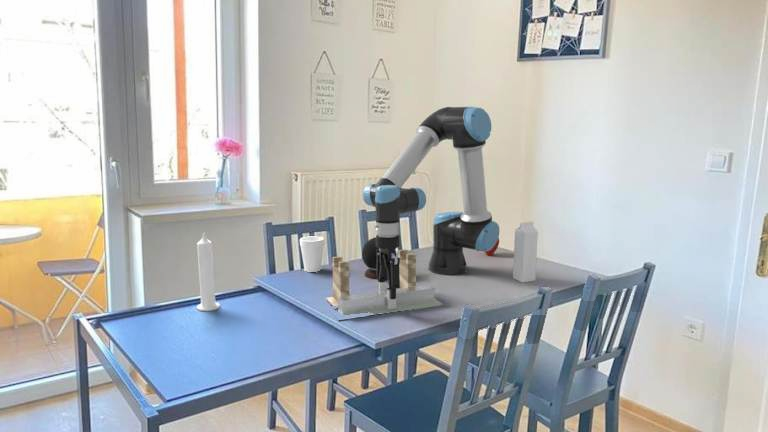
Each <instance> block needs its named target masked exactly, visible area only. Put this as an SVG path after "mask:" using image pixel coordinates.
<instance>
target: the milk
mask: <svg viewBox="0 0 768 432" xmlns="http://www.w3.org/2000/svg"><path fill="white" fill-rule="evenodd" d="M538 234H539V232H538V230H537V229H536V227H535V226H534V221H528V222H527V221H526V222H520V223H519V227H517V228H516V229H514V242H513V243H514V244H513V245H514V248H513V249H514V250H513V266H512V269H513V270H512V271H513V272H512V279H514V280H516V281H518V282H520V283H527V282H528V283H529V282H535V281H536V280H537V279H536V276H537V255H538V237H539V236H538Z"/></svg>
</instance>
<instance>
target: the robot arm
mask: <svg viewBox="0 0 768 432" xmlns="http://www.w3.org/2000/svg"><path fill="white" fill-rule="evenodd" d="M491 132H492V121H491V118H490V115H489V113H488V112H487V111H486V110H485V109H484V108H481V107H478V106H477V107H475V106H445V107H442V108H439V109H437V110H436V111H433V113H431V114H430V115H429V116H427V117H426V118H425V119H424V120H423V121H422V122H421V123H420V125H418V127H417V128H416V131H415V133H416V134H415V135H414V136H413V137H412V139H411V140H410V141H409V142H408V144H407V145H406V146H405V147H404V149H403V150H402V151H401V153H400V154H399V155H398V156H397V157H396V159H395V160H394V161H393V163H392V164H391V165H390V166H389V167H388V168H387V170H386V171H385V173H384V174H383V175H382V176H381V178H380V179H379V180H378V181H377V182H376V183H369V184H368V185H366V186H365V188H364V189H363V191H362V199H363V202H364V203H365V204H366V205H367V206H370V207H374V208H375V225H374V229H375V234H376V236H375V237H376V247H377V248H380V249H376V256H377V258H376V278H378V279H377V282H378V292H379V291H386V290H388V309H392V308H396V289H398V288H400V273H399V263H400V258H398V257H397V253H396V254H395V250H396V249H398V248H399V247H400V234H401V230H400V229H401V227H400V225H401V222H400V218H401V217H400V216H401V215H402V214H407V213H412V212H414V213H416V212H417V211H421V210H423V209H424V208H425V206H426V205H427V195H426V193H425V191H424V190H423V189H422V188H420V187H409V188H405V187H403V185H405V183H406V182H407V180H408V179H409V178H410V176H412V174H413V173H414V172H415V170H416V169H418V167H419V165H420V164H421V163H422V161H423V160H424V159H425V158H426V156H427V155H428V153H429V152H430V151H431V149H433V148H435V147H437V146H438V145H439V144H440V143H441V142H442V141H444V140H449V141H450V140H452V147H453V148H454V149H455V150H456V151H457V155H458V165H459V175H460V183H461V185H460V186H461V196H462V205H463V206H462V207H463V212H462V211H449V212H441V213H437V214H435V215H434V217H433V224H432V225H433V227H432V229H433V236H432V237H433V245H432V246H433V247H432V248H433V250H432V253H431V256H430V259H429V262H428V270H429V271H430V272H431V273H434V274H439V275H449V276H451V275H460V274H463V273H465V272H467V270H468V268H467V267H468V265H467V262H466V261H467V260H466V258H465V255H464V249H469V250H474V251H476V252H484V251H485V252H486V251H489V250H491V249H492V248H493V247H494V246H495V244H496V242H497V240H498V237H499V238H500V225H499V224H498V222H496V221H494V220H493V216H492V213H491V212H490V211H489V210H488V206H487V205H488V203H487V193H486V183H485V170H484V169H485V168H484V158H483V156H484V155H483V147H485V146H486V144H487V143H486V141H487V140H488V139H489V138H490V137H491ZM485 252H484V253H485ZM389 264H391V265H389ZM387 276H388V279H387Z"/></svg>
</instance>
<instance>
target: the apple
mask: <svg viewBox="0 0 768 432" xmlns="http://www.w3.org/2000/svg"><path fill="white" fill-rule="evenodd" d="M499 244H500V236H499V237H498V240H497V242H496V244H495V246H494V247H493V248H492V249H491V250H489V251H486V252H485V251H483V252H484V254H485V255H487V256H492V255H493V254H494V253H495V252H496V251H497V249H498V248H499Z"/></svg>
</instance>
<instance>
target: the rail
mask: <svg viewBox="0 0 768 432" xmlns="http://www.w3.org/2000/svg"><path fill="white" fill-rule="evenodd" d="M435 290H436V288H435V287H434V286H432V285H431V284H424V285H418V286H416V287H408V288H401V289H396V308H402V307H409V306H415V305H422V304H429V303H434V299H436V297H435V294H436V293H435V292H436V291H435ZM392 309H395V308H392ZM337 310H338V311H339V312H340V313H341V314H342V315H350V314H360V313H368V312H375V311H382V310H389V309H388V290H386V291H379V290H378V291H372V292H366V293H359V294H351V295H350V294H349V296H342V297H338V309H337Z"/></svg>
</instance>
